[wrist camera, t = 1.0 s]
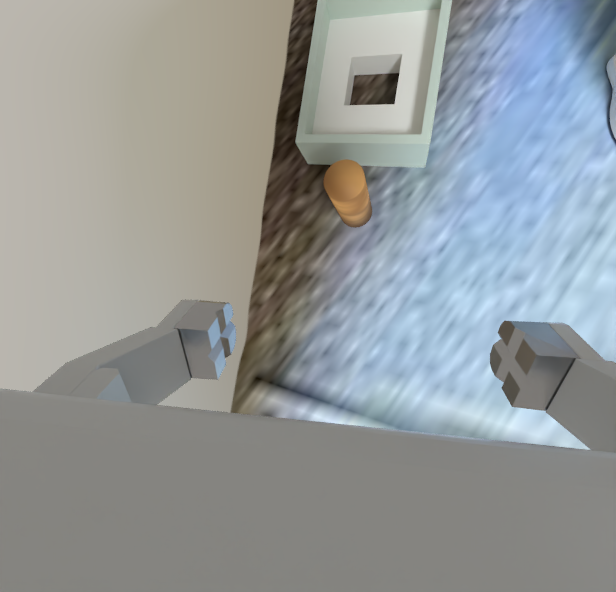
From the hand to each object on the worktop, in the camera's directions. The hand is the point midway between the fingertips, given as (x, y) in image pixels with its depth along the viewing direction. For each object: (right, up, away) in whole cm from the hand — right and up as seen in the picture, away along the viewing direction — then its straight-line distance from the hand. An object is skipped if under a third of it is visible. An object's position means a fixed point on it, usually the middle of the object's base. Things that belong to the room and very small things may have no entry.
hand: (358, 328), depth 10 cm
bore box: (+7, +27, +30) cm, 41 cm away
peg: (+5, +12, +30) cm, 33 cm away
